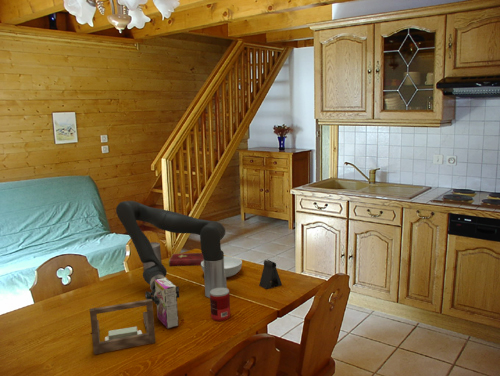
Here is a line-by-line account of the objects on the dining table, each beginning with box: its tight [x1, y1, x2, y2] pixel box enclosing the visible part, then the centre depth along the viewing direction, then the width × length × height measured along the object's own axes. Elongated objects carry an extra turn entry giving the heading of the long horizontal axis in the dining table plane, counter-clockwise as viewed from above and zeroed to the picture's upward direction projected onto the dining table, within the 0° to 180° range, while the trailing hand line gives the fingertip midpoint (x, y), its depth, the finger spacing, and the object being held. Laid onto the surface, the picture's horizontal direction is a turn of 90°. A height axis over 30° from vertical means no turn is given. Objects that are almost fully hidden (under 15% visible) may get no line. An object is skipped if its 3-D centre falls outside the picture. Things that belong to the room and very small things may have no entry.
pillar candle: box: [142, 241, 163, 271], centre depth 239 cm, size 10×10×15 cm
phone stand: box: [258, 259, 283, 290], centre depth 210 cm, size 9×6×12 cm, turn 123°
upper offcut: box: [108, 326, 138, 340], centre depth 163 cm, size 10×4×2 cm, turn 106°
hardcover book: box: [168, 252, 203, 267], centre depth 249 cm, size 12×21×4 cm, turn 89°
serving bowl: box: [200, 255, 243, 278], centre depth 228 cm, size 21×21×7 cm
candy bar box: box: [155, 277, 179, 329], centre depth 174 cm, size 11×5×16 cm, turn 32°
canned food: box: [209, 287, 231, 322], centre depth 179 cm, size 8×8×11 cm
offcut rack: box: [89, 299, 156, 355], centre depth 166 cm, size 21×20×16 cm
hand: (166, 301), depth 173 cm, fingers closed on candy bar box, 6 cm apart
